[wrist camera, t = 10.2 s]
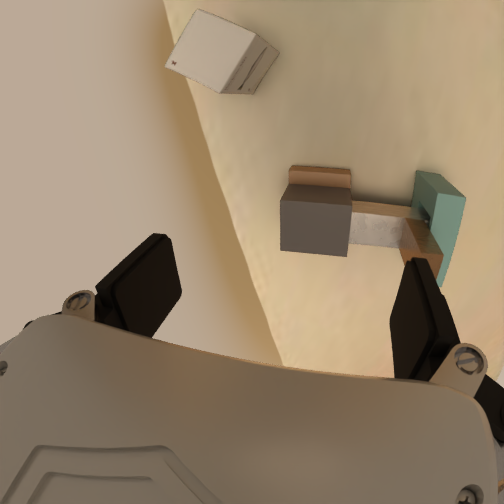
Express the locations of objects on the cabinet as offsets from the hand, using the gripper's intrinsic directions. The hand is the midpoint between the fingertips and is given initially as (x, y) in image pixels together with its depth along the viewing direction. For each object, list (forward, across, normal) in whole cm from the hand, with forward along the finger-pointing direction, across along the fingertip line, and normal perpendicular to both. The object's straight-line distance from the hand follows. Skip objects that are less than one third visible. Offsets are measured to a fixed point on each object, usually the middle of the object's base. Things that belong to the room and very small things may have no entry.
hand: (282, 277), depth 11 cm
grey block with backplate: (+30, 0, +8) cm, 31 cm away
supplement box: (+31, +10, -12) cm, 34 cm away
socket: (+30, -15, +8) cm, 35 cm away
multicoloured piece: (+26, -9, +8) cm, 29 cm away
